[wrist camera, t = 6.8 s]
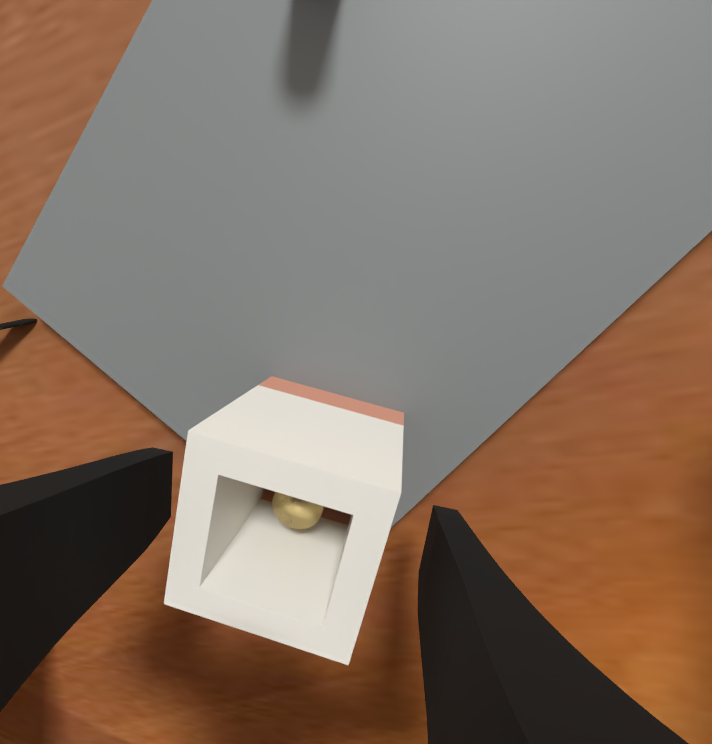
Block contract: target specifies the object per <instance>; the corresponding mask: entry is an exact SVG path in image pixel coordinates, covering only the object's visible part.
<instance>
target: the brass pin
mask: <svg viewBox="0 0 712 744" xmlns="http://www.w3.org/2000/svg"><path fill="white" fill-rule="evenodd" d="M272 507H273V511H274V513H275V515H276V517H277V518H278V519H279V520H280V521H281V522H282V523H283V524H284V525H286V526H288V527H290V528H294V529H306V528H309V527H312V526H313V525H315V524H316V523H317V522H318V520H319V519H320V517H321V514H322V512H323V509H324V507H325V506H321V505H318V504H315V503H311V502H308V501H305V500H301V499H298V498H295V497H291V496H288V495H285V494H281V493H278V492H275V494H274V496H273V500H272Z"/></svg>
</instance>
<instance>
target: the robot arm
mask: <svg viewBox="0 0 712 744" xmlns="http://www.w3.org/2000/svg"><path fill="white" fill-rule="evenodd" d="M172 463H173V452H171V451H166V450H162V449H157V448H147V449H141V450H137V451H132V452H128V453H124V454H120V455H116V456H112V457H109V458H105V459H101V460H98V461H94V462H90V463H86V464H83V465H79V466H75V467H72V468H68V469H64V470H60V471H56V472H52V473H48V474H44V475H40V476H36V477H32V478H28V479H24V480H20V481H16V482H11V483H7V484H2V485H0V711H1V710H2V709H3V708H4V706H5V705H6V704H7V703H8V701H9V700H10V699H11V698H12V696H13V695H14V694H15V692H16V691H17V690H18V689H19V688H20V686H21V685H22V684H23V683H24V681H25V680H26V679H27V678H28V677H29V675H30V674H31V673H32V672H33V671H34V669H35V668H36V667H37V666H38V665H39V663H40V662H41V661H42V660H43V659H44V657H45V656H46V655H47V654H48V652H49V651H50V650H51V649H52V648H53V646H54V645H55V644H56V643H57V642H58V641H59V640H60V639H61V638H62V636H63V635H64V634H65V633H66V632H67V631H68V630H69V629H70V628H71V627H72V625H73V624H74V623H75V622H76V621H77V620H78V619H79V618H80V617H81V616H82V615H83V614H84V613H85V612H86V611H87V610H88V609H89V608H90V607H91V606H92V605H93V604H94V603H95V602H96V601H97V600H98V599H99V598H100V597H101V596H102V595H103V594H104V593H105V592H106V591H107V590H108V589H109V588H110V587H111V585H112V584H113V583H114V582H115V581H116V580H117V579H118V578H119V577H120V576H121V575H122V574H123V573H124V572H125V571H126V570H127V569H128V568H129V567H130V566H131V565H132V564H133V563H134V562H135V561H136V560H137V559H138V558H139V556H140V555H141V554H142V553H143V552H144V551H145V550H146V549H147V548H148V546H149V545H150V544H151V543H152V541H153V540H154V539H155V537H156V536H157V535H158V534H159V532H160V531H161V529H162V528H163V527H164V525H165V524H166V523H167V521H168V520H169V518H170V517H171V494H172ZM418 621H419V633H420V645H421V657H422V668H423V679H424V690H425V702H426V713H427V729H428V744H688V743H687V742H686V741H684V740H683V739H682V738H681V737H679V736H678V735H677V734H675V733H674V732H673V731H672V730H670V729H669V728H668V727H666V726H665V725H664V724H663V723H661V722H660V721H659V720H658V719H656V718H655V717H654V716H653V715H651V714H650V713H649V712H648V711H647V710H645V709H644V708H643V707H642V706H640V705H639V704H638V703H637V702H636V701H634V700H633V699H632V698H631V697H630V696H628V695H627V694H626V693H625V692H624V691H623V690H621V689H620V688H619V687H618V686H617V685H616V684H615V683H613V682H612V681H611V680H610V679H609V678H608V677H607V676H605V675H604V674H603V673H602V672H601V671H600V670H599V669H597V668H596V667H595V666H594V665H593V664H592V663H591V662H590V661H588V660H587V659H586V658H585V657H584V656H583V655H582V654H581V653H580V652H579V651H578V650H577V649H575V648H574V647H573V646H572V645H571V644H570V643H569V642H568V641H567V640H566V639H565V638H564V637H563V636H562V635H561V634H560V633H559V632H558V631H557V630H556V629H555V628H554V627H553V626H552V625H551V624H550V623H549V622H548V621H547V620H546V619H545V618H544V617H543V616H542V615H541V614H540V613H539V611H538V610H537V609H536V608H535V607H534V606H533V605H532V604H531V603H530V602H529V601H528V599H527V598H526V597H525V596H524V595H523V594H522V593H521V591H520V590H519V589H518V588H517V587H516V586H515V585H514V583H513V582H512V581H511V580H510V579H509V578H508V576H507V575H506V574H505V573H504V572H503V570H502V569H501V568H500V567H499V565H498V564H497V563H496V562H495V560H494V559H493V558H492V556H491V555H490V554H489V553H488V551H487V550H486V549H485V547H484V546H483V545H482V543H481V542H480V541H479V539H478V538H477V536H476V535H475V534H474V532H473V531H472V530H471V528H470V527H469V525H468V524H467V523H466V521H465V520H464V518H463V517H462V516H461V514H460V513H459V512H458V510H454V509H449V508H445V507H440V506H435V505H433V509H432V514H431V518H430V523H429V527H428V532H427V536H426V541H425V546H424V550H423V555H422V559H421V564H420V569H419V580H418Z"/></svg>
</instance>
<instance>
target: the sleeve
mask: <svg viewBox="0 0 712 744" xmlns="http://www.w3.org/2000/svg"><path fill="white" fill-rule="evenodd" d="M403 430H404V413H403V412H399V411H396V410H392V409H389V408H385V407H381V406H378V405H374V404H371V403H367V402H363V401H360V400H356V399H352V398H349V397H345V396H342V395H338V394H334V393H331V392H327V391H323V390H320V389H316V388H313V387H309V386H305V385H302V384H298V383H294V382H291V381H287V380H284V379H280V378H276V377H273V376H271V377H270V378H268V379H267V380H265V381H264V382H262V383H260V384H259V385H257V386H256V387H254V388H253V389H251V390H250V391H248V392H247V393H245V394H244V395H242V396H240V397H239V398H237V399H236V400H234V401H233V402H231V403H230V404H228V405H227V406H225V407H224V408H222V409H220V410H219V411H217V412H216V413H214V414H213V415H211V416H210V417H208V418H207V419H205V420H204V421H202V422H200V423H199V424H197V425H196V426H194V427H193V428H191V429H190V430H188V435H187V442H186V449H185V457H184V464H183V471H182V478H181V485H180V492H179V499H178V506H177V513H176V521H175V528H174V535H173V542H172V549H171V556H170V563H169V570H168V577H167V585H166V592H165V599H164V604H165V605H168V606H171V607H174V608H177V609H180V610H183V611H186V612H189V613H192V614H195V615H198V616H201V617H204V618H207V619H210V620H213V621H216V622H220V623H223V624H226V625H229V626H232V627H235V628H238V629H241V630H244V631H247V632H250V633H253V634H256V635H259V636H262V637H265V638H268V639H271V640H274V641H277V642H280V643H283V644H286V645H289V646H292V647H295V648H298V649H301V650H304V651H307V652H310V653H313V654H316V655H319V656H322V657H325V658H328V659H331V660H334V661H337V662H340V663H343V664H346V665H349V662H350V659H351V655H352V652H353V649H354V645H355V642H356V639H357V636H358V632H359V629H360V626H361V623H362V619H363V616H364V613H365V610H366V606H367V603H368V600H369V597H370V593H371V590H372V587H373V583H374V580H375V577H376V574H377V570H378V567H379V564H380V561H381V557H382V554H383V551H384V548H385V544H386V541H387V538H388V535H389V531H390V528H391V525H392V521H393V518H394V515H395V512H396V508H397V505H398V502H399V499H400V495H401V487H402V458H403ZM275 492H278V493H281V494H285V495H288V496H291V497H295V498H298V499H301V500H305V501H308V502H311V503H315V504H318V505H321V506H325V507H324V509H323V512H322V514H321V517H320V519H319V520H318V522H317V523H316V524H315V525H313V526H312V527H309V528H306V529H294V528H290V527H288V526H286V525H284V524H283V523H282V522H281V521H280V520H279V519H278V518H277V517H276V515H275V513H274V511H273V507H272V500H273V496H274V494H275Z"/></svg>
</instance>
